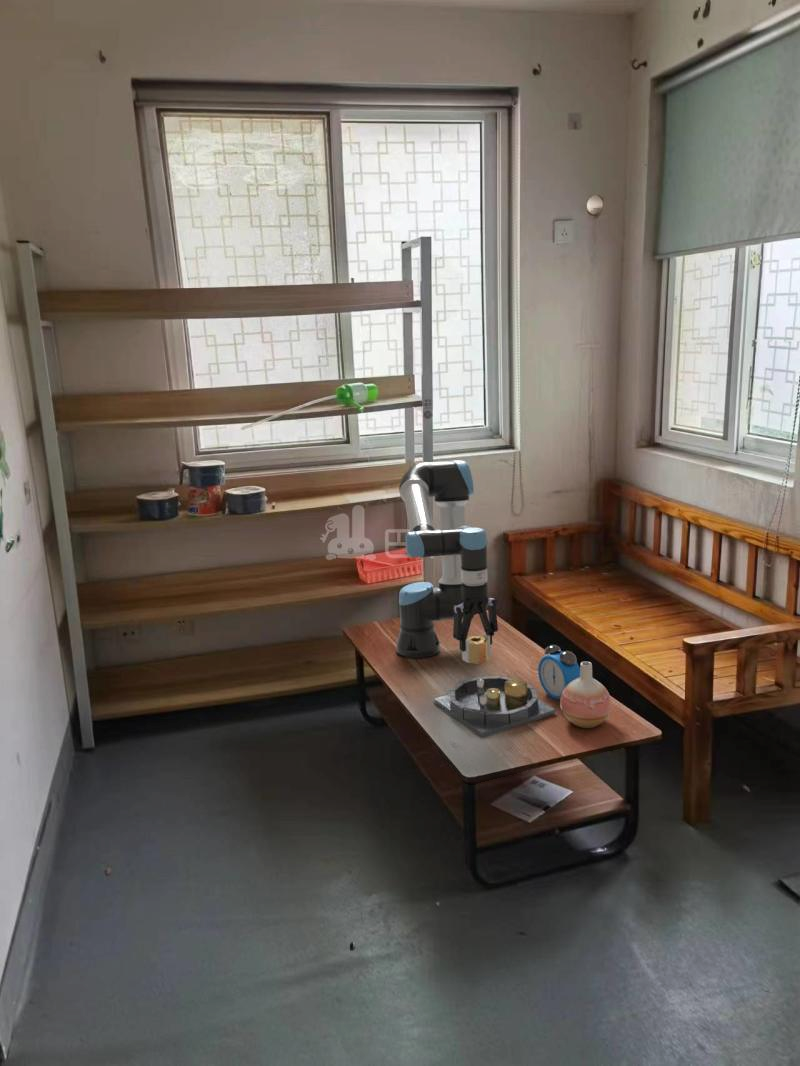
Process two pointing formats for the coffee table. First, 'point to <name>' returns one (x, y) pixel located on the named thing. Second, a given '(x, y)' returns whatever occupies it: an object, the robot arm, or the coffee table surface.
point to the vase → (585, 699)
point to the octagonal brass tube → (478, 649)
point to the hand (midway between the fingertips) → (476, 658)
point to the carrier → (494, 704)
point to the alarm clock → (557, 671)
